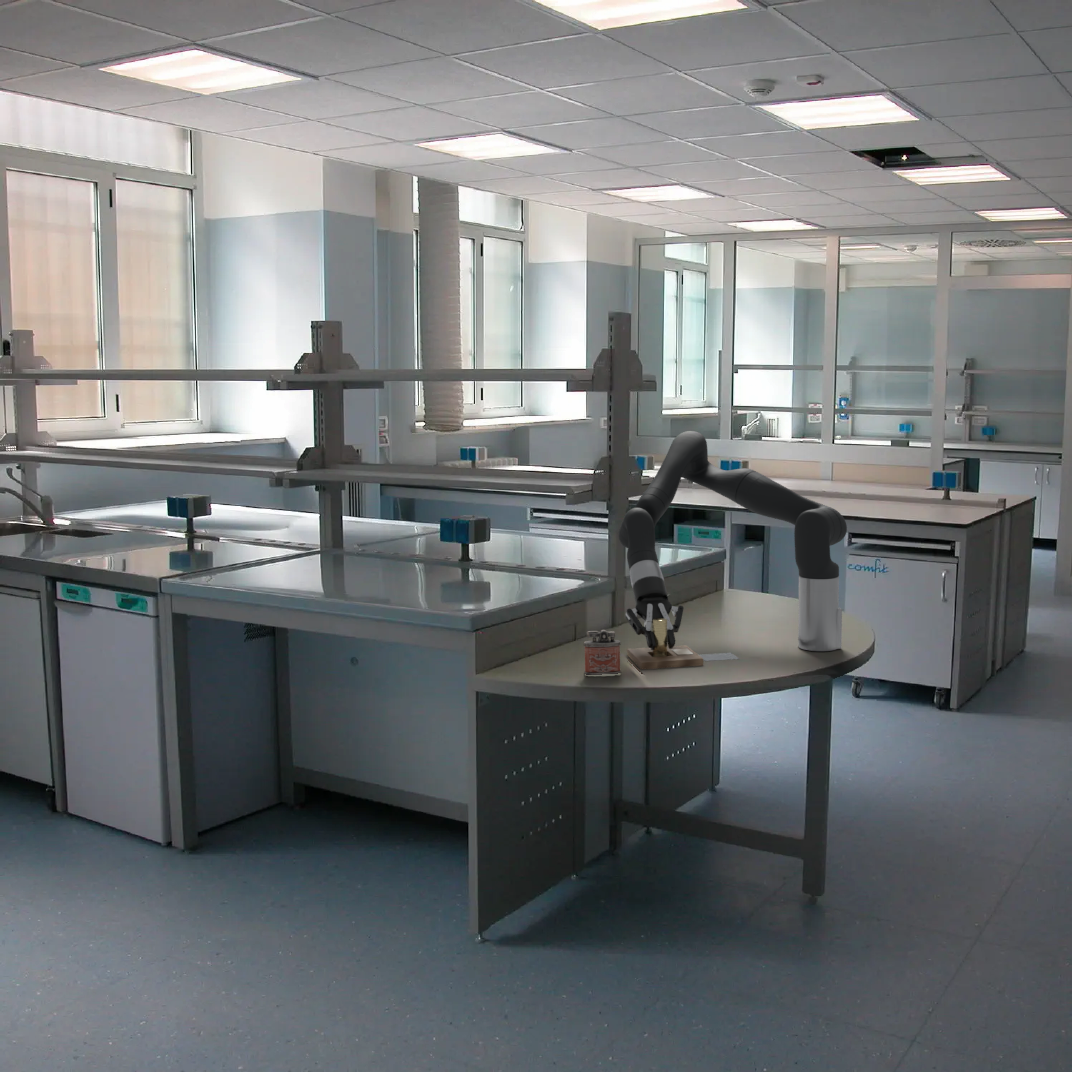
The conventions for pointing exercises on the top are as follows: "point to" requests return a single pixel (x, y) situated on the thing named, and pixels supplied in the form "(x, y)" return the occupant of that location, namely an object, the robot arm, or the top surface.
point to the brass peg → (660, 637)
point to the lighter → (602, 653)
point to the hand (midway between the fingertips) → (662, 647)
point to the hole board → (664, 658)
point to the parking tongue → (718, 656)
